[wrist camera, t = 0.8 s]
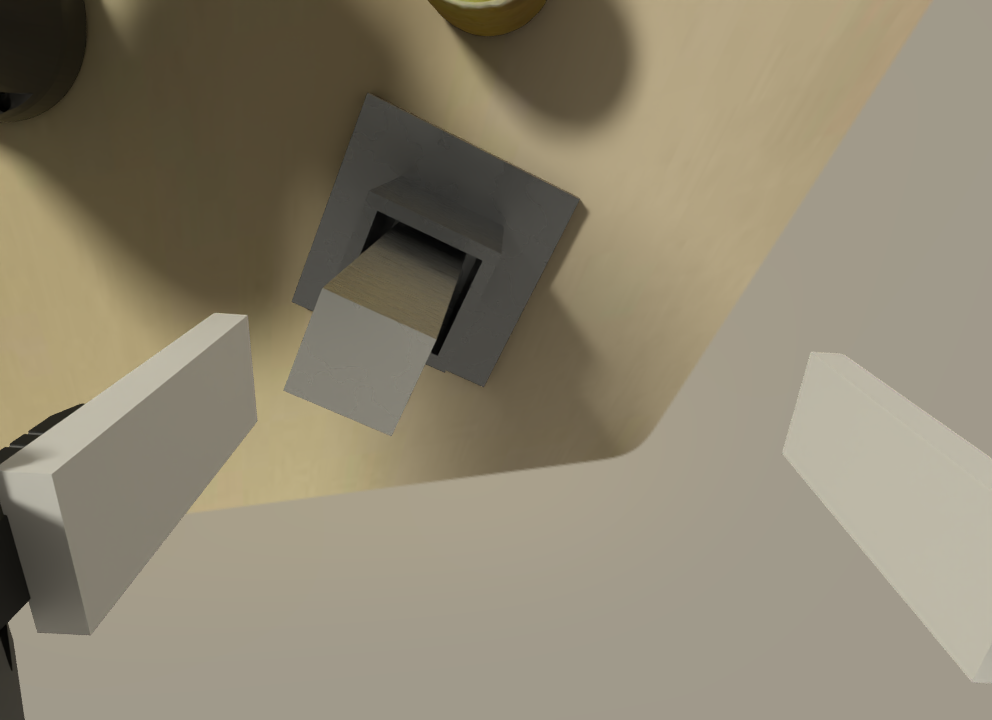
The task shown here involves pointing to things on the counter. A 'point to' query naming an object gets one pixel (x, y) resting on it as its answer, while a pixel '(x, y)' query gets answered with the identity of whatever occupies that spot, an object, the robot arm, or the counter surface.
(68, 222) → the counter surface
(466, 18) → the mug
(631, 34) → the counter surface
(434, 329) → the column
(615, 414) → the counter surface
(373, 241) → the stand
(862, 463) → the robot arm
